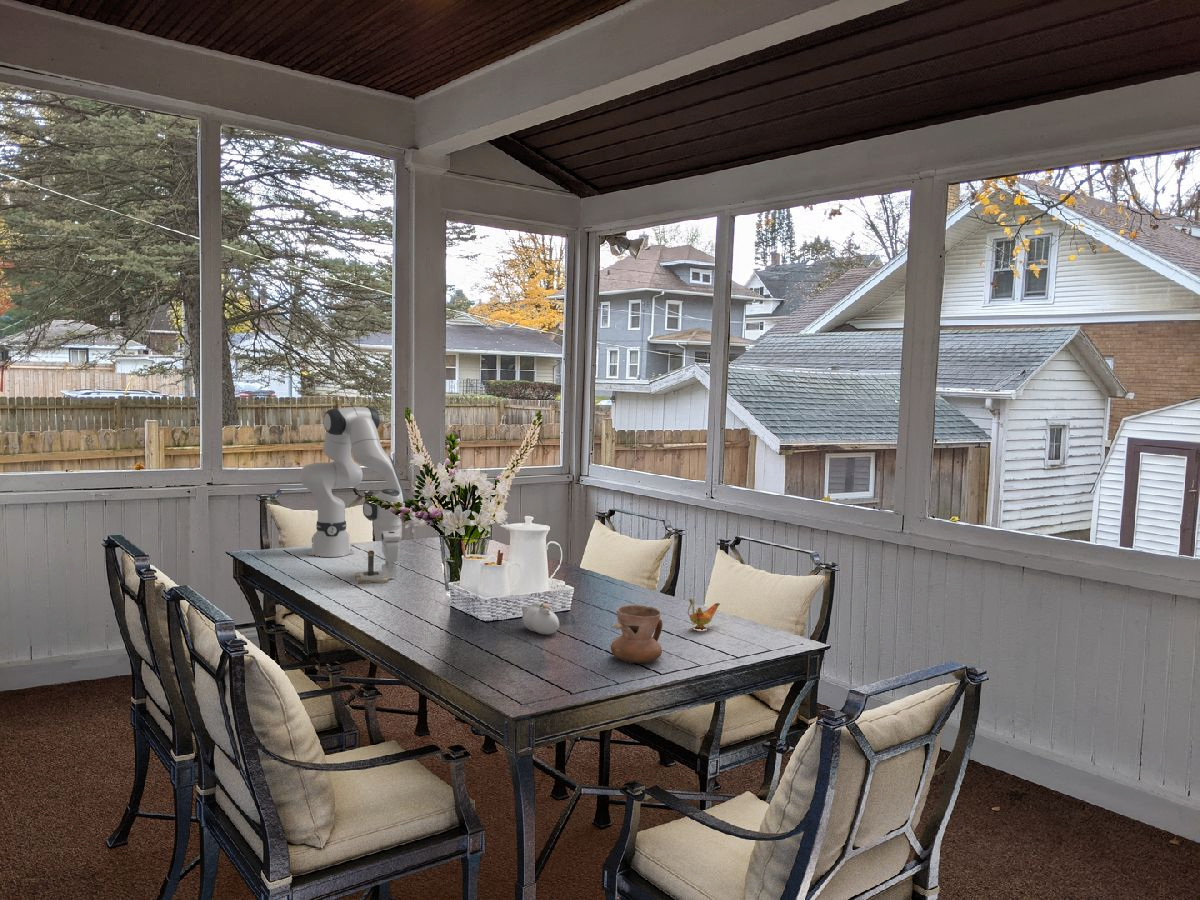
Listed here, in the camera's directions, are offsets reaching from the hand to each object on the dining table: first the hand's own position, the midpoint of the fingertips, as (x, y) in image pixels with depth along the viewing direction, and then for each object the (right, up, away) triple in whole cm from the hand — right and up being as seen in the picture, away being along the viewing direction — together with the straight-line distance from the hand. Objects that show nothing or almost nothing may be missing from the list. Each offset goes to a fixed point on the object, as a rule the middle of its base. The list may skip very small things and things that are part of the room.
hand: (389, 569), depth 337 cm
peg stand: (-7, -4, 0) cm, 8 cm away
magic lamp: (+112, -12, -51) cm, 124 cm away
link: (-4, -3, -1) cm, 5 cm away
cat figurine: (+61, -11, -61) cm, 87 cm away
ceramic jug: (+90, -14, -84) cm, 124 cm away
